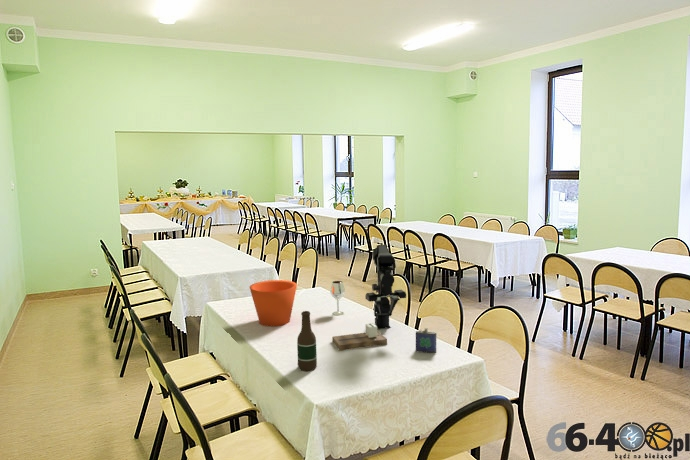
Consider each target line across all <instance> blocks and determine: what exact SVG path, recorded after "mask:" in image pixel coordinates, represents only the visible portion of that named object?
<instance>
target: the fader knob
mask: <svg viewBox="0 0 690 460" xmlns="http://www.w3.org/2000/svg"><path fill="white" fill-rule="evenodd" d="M377 331H378V328H377V326H376V325H375V322H373V323H365V333H366V335H367V336H368V337H369V338H371V337H377Z"/></svg>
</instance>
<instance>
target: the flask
mask: <svg viewBox="0 0 690 460" xmlns="http://www.w3.org/2000/svg"><path fill="white" fill-rule="evenodd" d="M428 330H429V329H428V328H427V327H425V328H424V330H420V329H419V330H416V331H415V351H416V352H417V351H418V352H417V353H426V352H427V354H428V353H429V354H434V353H437V332H436V331H428Z"/></svg>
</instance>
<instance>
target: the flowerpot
mask: <svg viewBox="0 0 690 460" xmlns="http://www.w3.org/2000/svg"><path fill="white" fill-rule="evenodd" d="M297 286H298V284H297V283H296V282H294V281H291V280H285V279H284V280H283V279H275V280H274V279H272V280H271V279H270V280H264V281H262V280H261V281H258V282H254V283H252V284H251V285H249V290H250V294H251V298H252V301H253V305H254V307H255V310H256V311H255V312H256V315H257V318H258V322H259V324H260V325H261V326H263V327H264V326H265V327H281V326H284V325H285V326H286V325H287V324H289V323H290V322H291V317H292V312H293V307H294V303H295V302H294V301H295V296H296V292H297V291H296V290H297Z"/></svg>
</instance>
